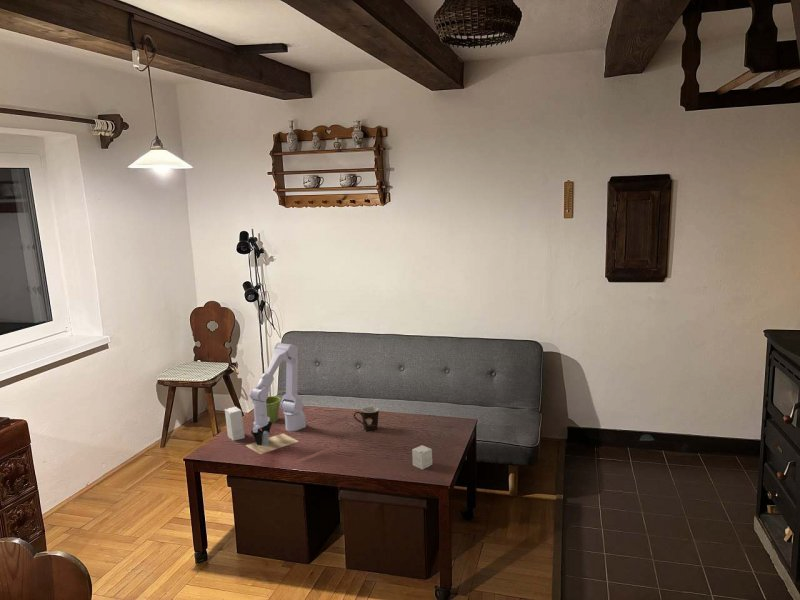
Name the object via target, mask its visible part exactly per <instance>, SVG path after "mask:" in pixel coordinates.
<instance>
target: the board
mask: <svg viewBox="0 0 800 600" xmlns="http://www.w3.org/2000/svg"><path fill="white" fill-rule="evenodd" d="M296 443H299V440H297V439H295V438H293V437H291V436H289V435H287V434H285V433H280V434H277V435H273V436H269V444H267V445H264V446H260V445H257V443H256V441H255V442H252V443H248V444H246V445H244V446H245V447H247V448H249V449H250V450H252V451H254V452H255V453H256V454H259V455H263V454H266V453H268V452H271V451H272V452H273V451H274V450H278V449H280V448H283V447H286V446H289V445H292V444H296Z"/></svg>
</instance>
